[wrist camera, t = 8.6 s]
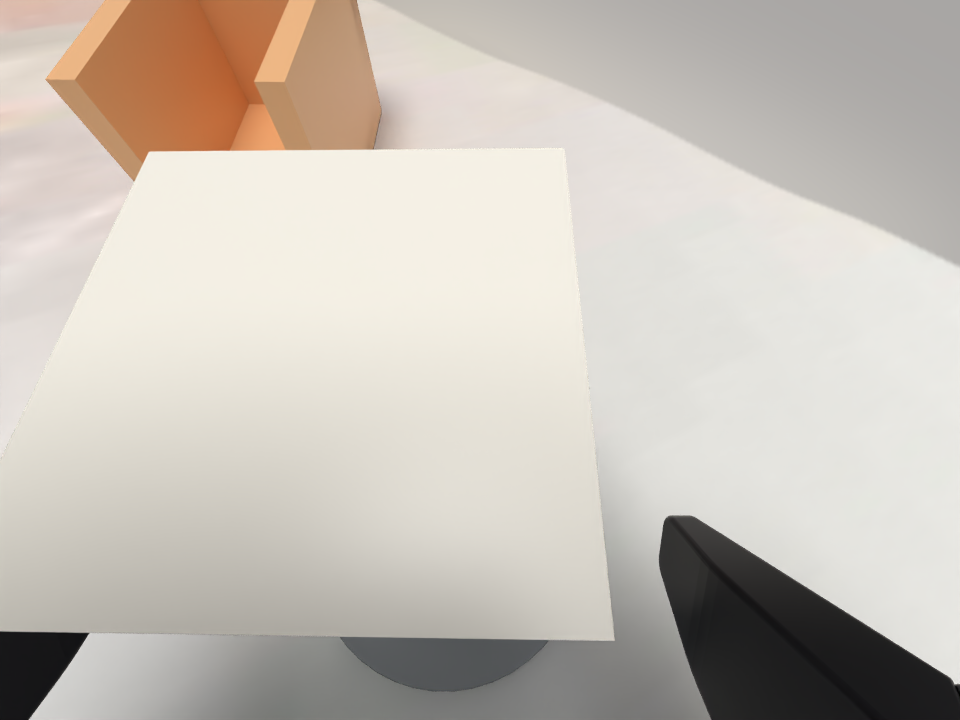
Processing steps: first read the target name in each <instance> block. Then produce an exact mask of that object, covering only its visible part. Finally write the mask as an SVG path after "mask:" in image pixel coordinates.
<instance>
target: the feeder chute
mask: <svg viewBox="0 0 960 720" xmlns="http://www.w3.org/2000/svg"><path fill="white" fill-rule="evenodd" d="M45 80H46V81H47V82H48V83H49V84H50V85H51V87H52V88H53V89H54V90H55V91H56V92H57V93H58V95H59V96H60V97H61V98H62V99H63V100H64V101H65V103H66V104H67V105H68V106H69V107H70V108H71V110H72V111H73V112H74V113H75V114H76V115H77V116H78V118H79V119H80V120H81V121H82V122H83V123H84V125H85V126H86V127H87V128H88V129H89V130H90V131H91V133H92V134H93V135H94V136H95V137H96V138H97V139H98V141H99V142H100V143H101V144H102V145H103V146H104V148H105V149H106V150H107V151H108V152H109V153H110V154H111V156H112V157H113V158H114V159H115V160H116V161H117V163H118V164H119V165H120V166H121V167H122V168H123V169H124V171H125V172H126V173H127V174H128V175H129V176H130V177H131V179H132V180H133V181H134V182H135V180H136V177H137V175H138V173H139V171H140V169H141V167H142V165H143V163H144V161H145V159H146V157H147V155H148V153H149V152H157V151H270V150H373V148H374V143H375V139H376V134H377V129H378V125H379V120H380V116H381V106H380V102H379V97H378V93H377V89H376V84H375V80H374V75H373V71H372V66H371V62H370V58H369V53H368V49H367V44H366V40H365V35H364V31H363V27H362V22H361V18H360V13H359V9H358V4H357V0H105V1H104V3H103V4H102V5H101V6H100V8H99V9H98V10H97V12H96V13H95V14H94V16H93V17H92V18H91V20H90V21H89V22H88V24H87V25H86V26H85V28H84V29H83V30H82V32H81V33H80V34H79V36H78V37H77V38H76V39H75V41H74V42H73V43H72V45H71V46H70V47H69V49H68V50H67V51H66V53H65V54H64V55H63V57H62V58H61V59H60V61H59V62H58V63H57V65H56V66H55V67H54V69H53V70H52V71H51V72H50V74H49V75H48V76H47V78H46V79H45Z"/></svg>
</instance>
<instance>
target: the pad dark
mask: <svg viewBox="0 0 960 720" xmlns="http://www.w3.org/2000/svg"><path fill="white" fill-rule="evenodd" d="M340 638H341V639H342V640H343V642H344V643H345V644H346V646H347V647H348V648H349V649H350V650H351V651H352V652H353V653H354V654H355V655H356V656H357V657H358V658H359V659H360V660H361V661H362V662H364V663H365V664H366V665H368V666H369V667H370V668H372V669H373V670H374V671H376V672H377V673H379V674H381V675H383V676H385V677H387V678H389V679H390V680H392V681H394V682H397V683H400V684H403V685H406V686H409V687H412V688H416V689H422V690H428V691H459V690H466V689H472V688H476V687H479V686H482V685H485V684H488V683H492V682H494V681H496V680H498V679H500V678H502V677H504V676H506V675H508V674H510V673H512V672H513V671H515V670H516V669H518V668H519V667H520V666H522V665H523V664H525V663H526V662H528V661H529V660H530V659H531V658H532V657H533V656H534V655H535V654H536V653H537V652H538V651H539V650H540V649H542V648H543V647H544V645H545V644H546V643H547V642H548V640H522V639H457V638H393V637H340Z"/></svg>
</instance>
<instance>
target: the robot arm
mask: <svg viewBox="0 0 960 720" xmlns="http://www.w3.org/2000/svg"><path fill="white" fill-rule="evenodd" d="M659 567H660V572H661V575H662V579H663V582H664V585H665V588H666V592H667V595H668V598H669V601H670V605H671V608H672V611H673V614H674V618H675V621H676V624H677V627H678V631H679V634H680V637H681V640H682V644H683V647H684V650H685V653H686V656H687V659H688V662H689V665H690V668H691V671H692V674H693V676H694V679H695V681H696V684H697V686H698V689H699V691H700V694H701V696H702V698H703V701H704V703H705V706H706V708H707V710H708V713H709V715H710V718H711V720H960V684H955V685H954V682H953V680H952V679H951V678H950V677H948V676H947V675H945V674H943V673H942V672H940V671H939V670H937V669H935V668H934V667H932V666H931V665H929V664H927V663H926V662H924V661H923V660H921V659H920V658H918V657H916V656H915V655H913V654H912V653H910V652H908V651H907V650H905V649H904V648H902V647H900V646H899V645H897V644H896V643H894V642H893V641H891V640H889V639H888V638H886V637H885V636H883V635H881V634H880V633H878V632H877V631H875V630H873V629H872V628H870V627H869V626H867V625H865V624H864V623H862V622H861V621H859V620H858V619H856V618H854V617H853V616H851V615H850V614H848V613H846V612H845V611H843V610H842V609H840V608H838V607H837V606H835V605H834V604H832V603H831V602H829V601H827V600H826V599H824V598H823V597H821V596H819V595H818V594H816V593H815V592H813V591H811V590H810V589H808V588H807V587H805V586H803V585H802V584H800V583H799V582H797V581H796V580H794V579H792V578H791V577H789V576H788V575H786V574H784V573H783V572H781V571H780V570H778V569H776V568H775V567H773V566H772V565H770V564H769V563H767V562H765V561H764V560H762V559H761V558H759V557H757V556H756V555H754V554H753V553H751V552H749V551H748V550H746V549H745V548H743V547H742V546H740V545H738V544H737V543H735V542H734V541H732V540H730V539H729V538H727V537H726V536H724V535H722V534H721V533H719V532H718V531H716V530H714V529H713V528H711V527H710V526H708V525H707V524H705V523H703V522H702V521H700V520H699V519H697V518H695V517H693V516H668V517H667V518H666V519H665V521H664V525H663V532H662V539H661V546H660V554H659ZM88 634H89V633H72V632H8V631H0V720H29V719H30V717H31V716H32V715H33V713H34V712H35V711H36V709H37V708H38V707H39V705H40V704H41V702H42V701H43V700H44V698H45V697H46V696H47V694H48V693H49V692H50V690H51V689H52V688H53V686H54V685H55V684H56V682H57V681H58V679H59V678H60V677H61V675H62V674H63V672H64V671H65V670H66V668H67V667H68V665H69V664H70V662H71V661H72V659H73V658H74V656H75V655H76V653H77V652H78V650H79V649H80V647H81V646H82V644H83V642H84V641H85V639H86V638H87V636H88Z"/></svg>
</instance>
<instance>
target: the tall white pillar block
mask: <svg viewBox="0 0 960 720" xmlns="http://www.w3.org/2000/svg"><path fill="white" fill-rule="evenodd" d="M0 631H8V632H72V633H137V634H201V635H265V636H329V637H393V638H457V639H522V640H586V641H615V638H614V628H613V618H612V608H611V598H610V589H609V579H608V569H607V559H606V550H605V540H604V530H603V520H602V510H601V501H600V491H599V481H598V471H597V462H596V452H595V442H594V432H593V422H592V413H591V403H590V393H589V383H588V374H587V364H586V354H585V344H584V334H583V325H582V315H581V305H580V295H579V286H578V276H577V266H576V256H575V246H574V237H573V227H572V217H571V207H570V198H569V188H568V178H567V168H566V158H565V149H564V148H497V149H384V150H270V151H157V152H149V153H148V155H147V157H146V159H145V161H144V163H143V165H142V167H141V169H140V171H139V173H138V175H137V177H136V180H135V182H134V184H133V186H132V188H131V190H130V192H129V194H128V196H127V198H126V200H125V202H124V204H123V206H122V209H121V211H120V213H119V215H118V217H117V219H116V221H115V223H114V225H113V227H112V229H111V231H110V233H109V235H108V237H107V240H106V242H105V244H104V246H103V248H102V250H101V252H100V254H99V256H98V258H97V260H96V262H95V264H94V266H93V269H92V271H91V273H90V275H89V277H88V279H87V281H86V283H85V285H84V287H83V289H82V291H81V293H80V295H79V298H78V300H77V302H76V304H75V306H74V308H73V310H72V312H71V314H70V316H69V318H68V320H67V322H66V324H65V326H64V329H63V331H62V333H61V335H60V337H59V339H58V341H57V343H56V345H55V347H54V349H53V351H52V353H51V355H50V358H49V360H48V362H47V364H46V366H45V368H44V370H43V372H42V374H41V376H40V378H39V380H38V382H37V384H36V387H35V389H34V391H33V393H32V395H31V397H30V399H29V401H28V403H27V405H26V407H25V409H24V411H23V413H22V416H21V418H20V420H19V422H18V424H17V426H16V428H15V430H14V432H13V434H12V436H11V438H10V440H9V442H8V444H7V447H6V449H5V451H4V453H3V455H2V457H1V459H0Z"/></svg>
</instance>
